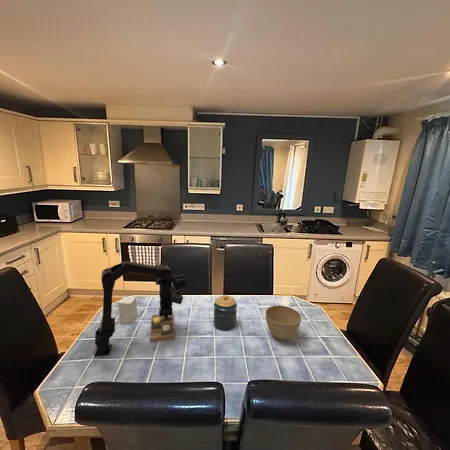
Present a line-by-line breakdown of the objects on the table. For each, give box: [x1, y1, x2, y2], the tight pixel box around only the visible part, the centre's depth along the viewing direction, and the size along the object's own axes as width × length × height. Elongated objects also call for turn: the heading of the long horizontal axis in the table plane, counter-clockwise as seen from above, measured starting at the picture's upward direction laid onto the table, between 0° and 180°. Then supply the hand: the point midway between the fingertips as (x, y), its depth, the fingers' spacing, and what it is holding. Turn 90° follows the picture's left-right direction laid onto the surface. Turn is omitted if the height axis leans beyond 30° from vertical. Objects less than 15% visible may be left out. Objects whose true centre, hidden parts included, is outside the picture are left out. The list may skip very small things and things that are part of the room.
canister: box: [213, 294, 238, 331], centre depth 140 cm, size 13×13×18 cm
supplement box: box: [117, 296, 138, 325], centre depth 142 cm, size 7×7×13 cm
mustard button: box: [153, 317, 161, 325], centre depth 135 cm, size 4×4×2 cm
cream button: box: [163, 325, 170, 331], centre depth 130 cm, size 4×4×2 cm
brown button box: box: [149, 312, 176, 343], centre depth 136 cm, size 21×12×4 cm, turn 13°
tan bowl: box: [265, 305, 302, 341], centre depth 132 cm, size 18×18×12 cm
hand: (166, 318), depth 129 cm, fingers closed
